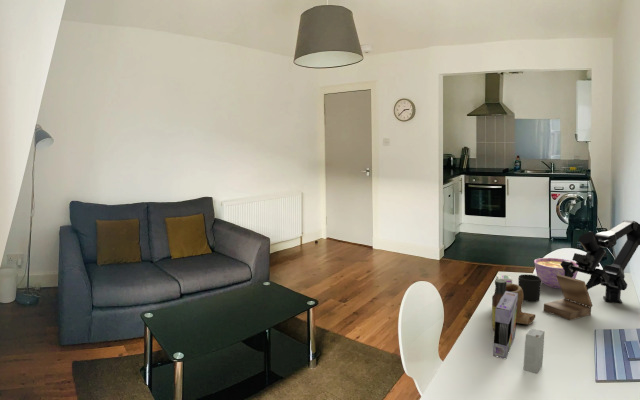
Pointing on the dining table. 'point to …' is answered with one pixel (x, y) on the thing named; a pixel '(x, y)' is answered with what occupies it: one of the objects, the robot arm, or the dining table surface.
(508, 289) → the tan boot
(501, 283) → the sauce bottle
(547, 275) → the bowl of food
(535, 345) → the skincare box
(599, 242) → the robot arm
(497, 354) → the cake pan box
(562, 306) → the wooden case
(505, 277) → the syrup box
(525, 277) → the pen holder
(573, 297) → the case lid
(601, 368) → the dining table surface
